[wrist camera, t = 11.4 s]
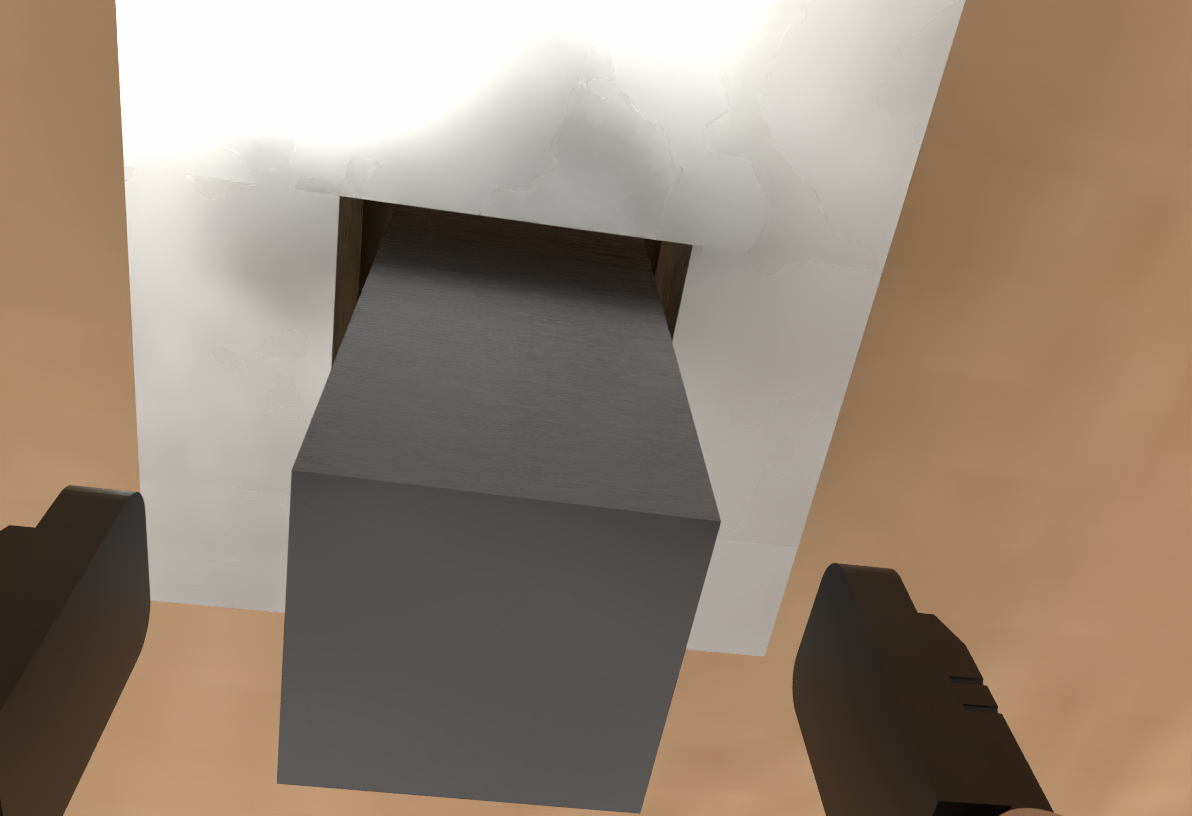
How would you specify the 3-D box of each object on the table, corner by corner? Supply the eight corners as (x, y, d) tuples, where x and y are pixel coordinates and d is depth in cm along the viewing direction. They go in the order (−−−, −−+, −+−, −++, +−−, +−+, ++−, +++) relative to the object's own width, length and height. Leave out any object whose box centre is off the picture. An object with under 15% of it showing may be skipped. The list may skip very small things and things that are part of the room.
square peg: (404, 183, 19) (291, 469, 10) (638, 220, 20) (721, 521, 11) (384, 394, 21) (277, 783, 12) (598, 421, 22) (640, 813, 13)
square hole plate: (172, -339, 15) (97, -376, 13) (947, -187, 17) (1024, -193, 14) (192, 510, 22) (146, 600, 20) (739, 566, 24) (764, 656, 21)
